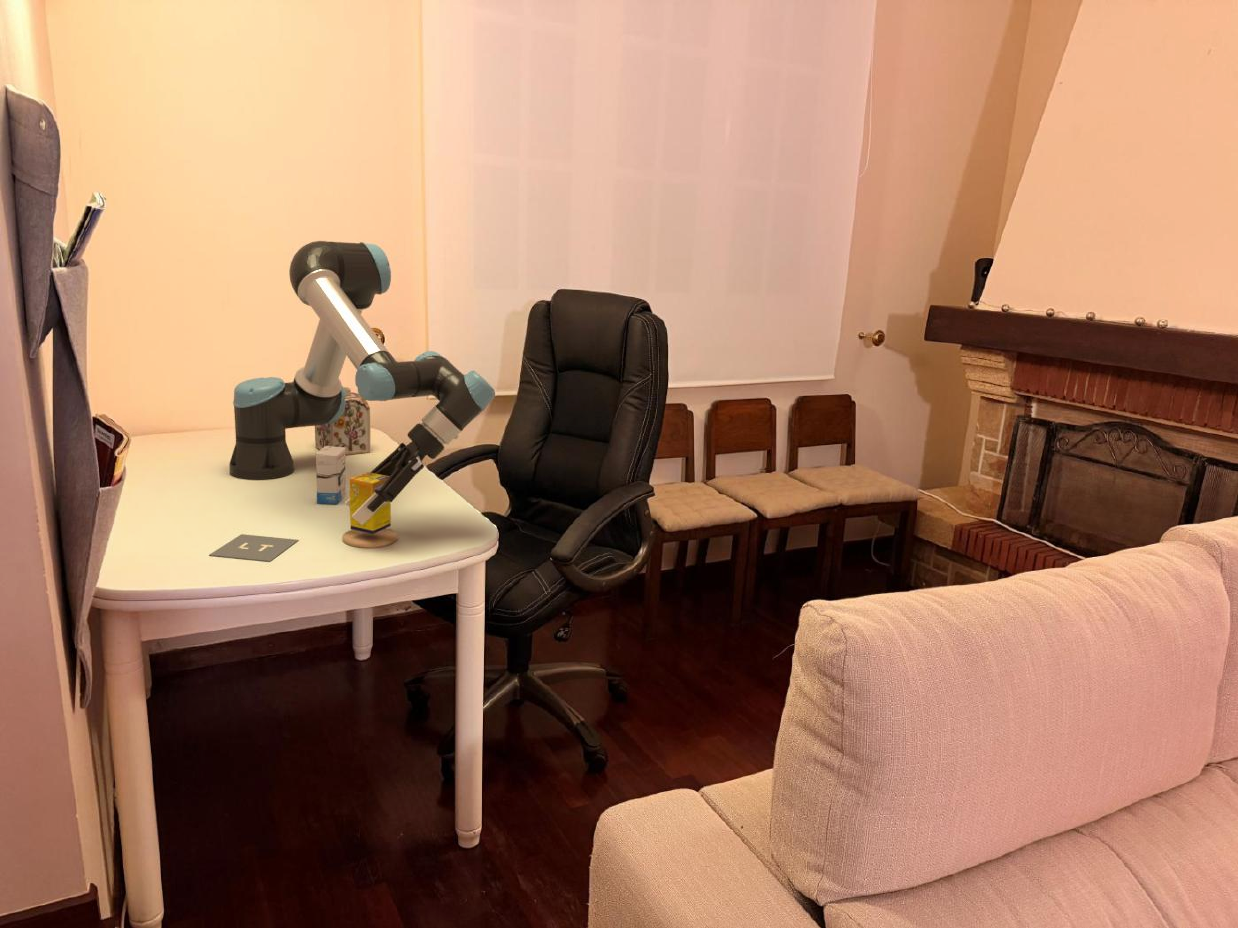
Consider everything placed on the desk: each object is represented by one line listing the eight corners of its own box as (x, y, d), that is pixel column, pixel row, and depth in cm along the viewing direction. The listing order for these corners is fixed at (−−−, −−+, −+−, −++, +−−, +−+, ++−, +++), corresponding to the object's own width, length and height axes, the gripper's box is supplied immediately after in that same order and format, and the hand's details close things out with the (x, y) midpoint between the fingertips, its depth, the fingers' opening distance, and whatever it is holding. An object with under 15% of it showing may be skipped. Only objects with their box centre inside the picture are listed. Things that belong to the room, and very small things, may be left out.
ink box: (338, 505, 198) (337, 455, 195) (315, 504, 198) (314, 454, 195) (346, 494, 206) (346, 446, 203) (325, 493, 206) (324, 445, 203)
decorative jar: (314, 448, 245) (313, 385, 241) (353, 443, 253) (352, 383, 248) (331, 457, 237) (330, 393, 232) (371, 453, 244) (371, 390, 240)
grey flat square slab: (241, 535, 176) (241, 533, 176) (298, 540, 175) (298, 539, 175) (209, 555, 164) (209, 554, 164) (270, 561, 163) (270, 560, 163)
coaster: (354, 527, 184) (354, 524, 184) (404, 532, 184) (404, 529, 183) (333, 545, 174) (333, 542, 174) (386, 550, 173) (386, 547, 173)
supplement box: (368, 521, 182) (367, 471, 179) (391, 526, 180) (391, 476, 177) (349, 529, 176) (348, 477, 174) (373, 534, 174) (372, 482, 172)
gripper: (458, 458, 171) (375, 542, 168) (434, 434, 189) (359, 509, 187) (432, 433, 168) (347, 518, 165) (409, 411, 186) (333, 487, 183)
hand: (353, 513), depth 176 cm, fingers closed on supplement box, 8 cm apart
